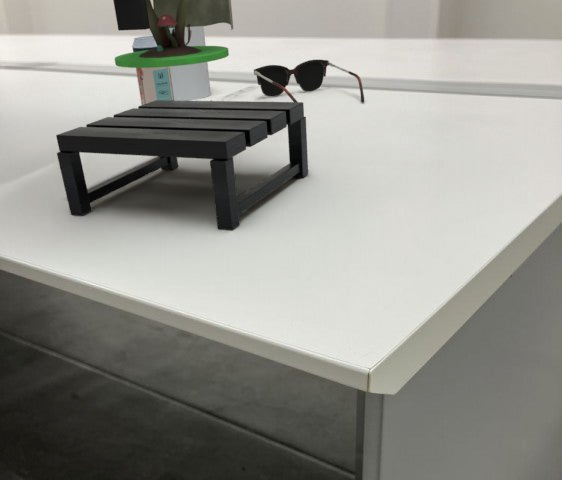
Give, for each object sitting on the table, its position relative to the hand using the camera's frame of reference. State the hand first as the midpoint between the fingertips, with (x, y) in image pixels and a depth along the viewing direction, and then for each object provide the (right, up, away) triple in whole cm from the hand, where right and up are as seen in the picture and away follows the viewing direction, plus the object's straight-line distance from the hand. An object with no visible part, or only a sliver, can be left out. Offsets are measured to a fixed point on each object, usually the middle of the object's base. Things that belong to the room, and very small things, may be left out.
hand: (173, 22), depth 62 cm
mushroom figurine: (0, -3, +2) cm, 3 cm away
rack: (+1, -13, +8) cm, 16 cm away
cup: (-6, +13, +52) cm, 54 cm away
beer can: (-8, +4, +38) cm, 39 cm away
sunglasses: (+15, +13, +49) cm, 53 cm away
